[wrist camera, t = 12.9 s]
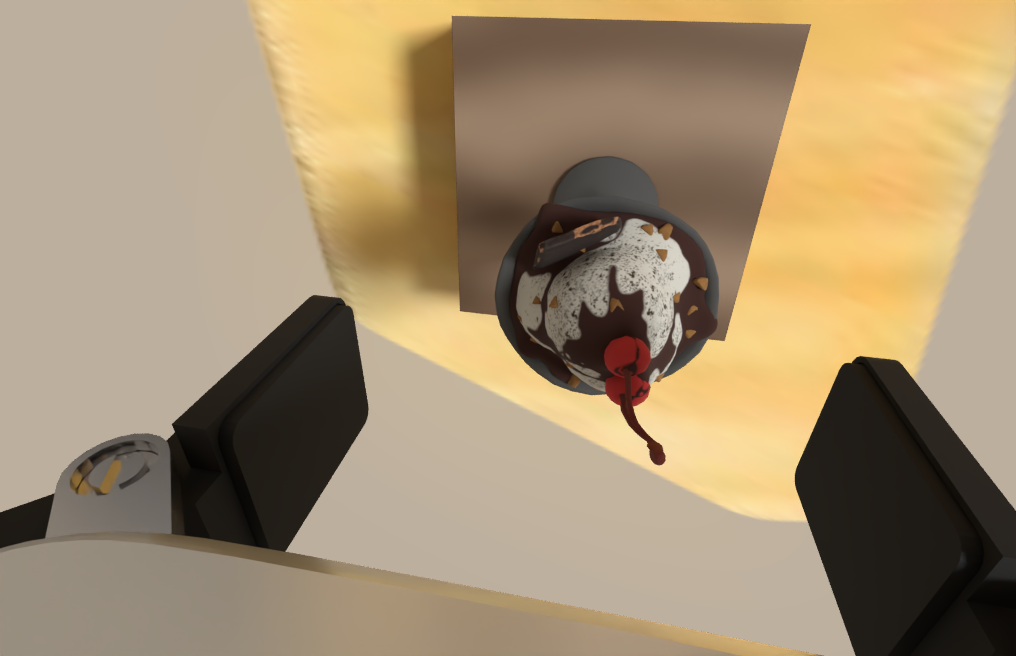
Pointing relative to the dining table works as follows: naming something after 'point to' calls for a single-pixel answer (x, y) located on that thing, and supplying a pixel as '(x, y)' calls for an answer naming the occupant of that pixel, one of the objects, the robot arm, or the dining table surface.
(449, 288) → the dining table surface
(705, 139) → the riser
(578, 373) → the sundae
